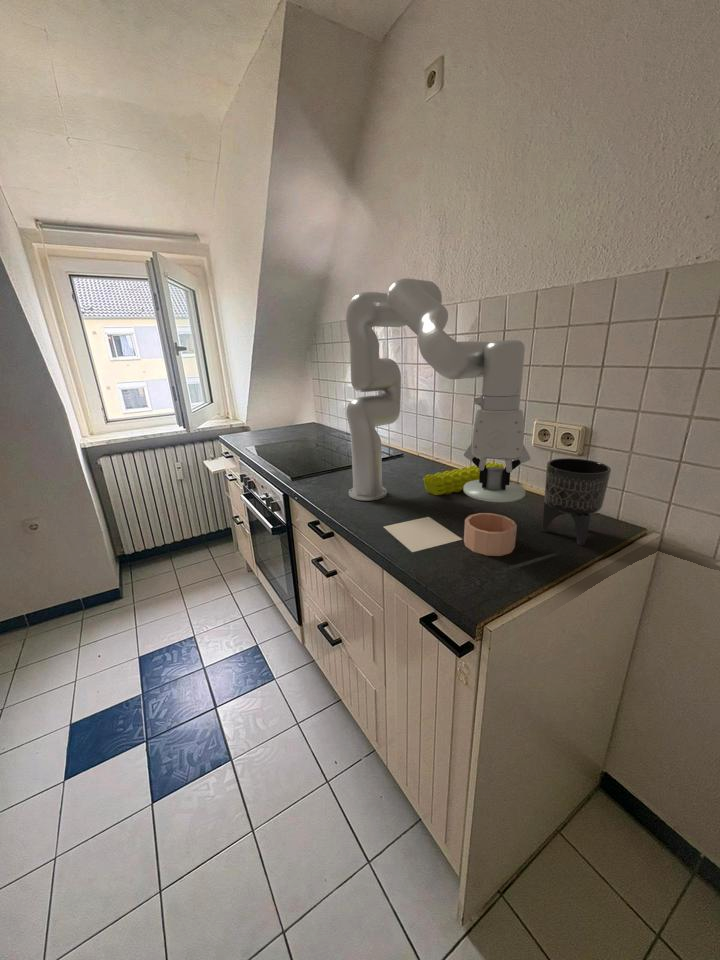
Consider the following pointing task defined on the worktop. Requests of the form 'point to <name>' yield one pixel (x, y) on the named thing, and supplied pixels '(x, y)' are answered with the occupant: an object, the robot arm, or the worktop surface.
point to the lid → (494, 488)
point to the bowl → (490, 534)
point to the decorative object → (453, 479)
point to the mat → (421, 534)
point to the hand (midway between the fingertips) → (493, 486)
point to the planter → (574, 492)
